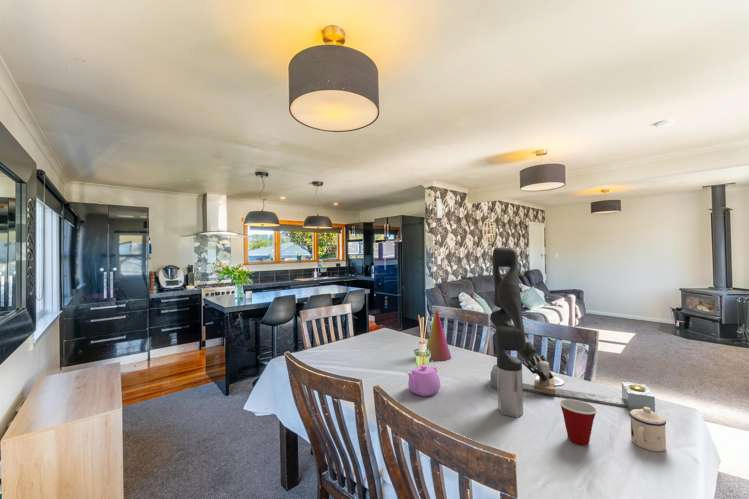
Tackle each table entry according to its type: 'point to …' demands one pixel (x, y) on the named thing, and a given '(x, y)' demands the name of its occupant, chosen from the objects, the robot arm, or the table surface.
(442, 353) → the decorative cone
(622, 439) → the table surface
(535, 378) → the candle holder
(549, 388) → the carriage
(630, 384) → the rail
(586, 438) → the plastic cup
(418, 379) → the teapot
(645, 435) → the teacup with lid
